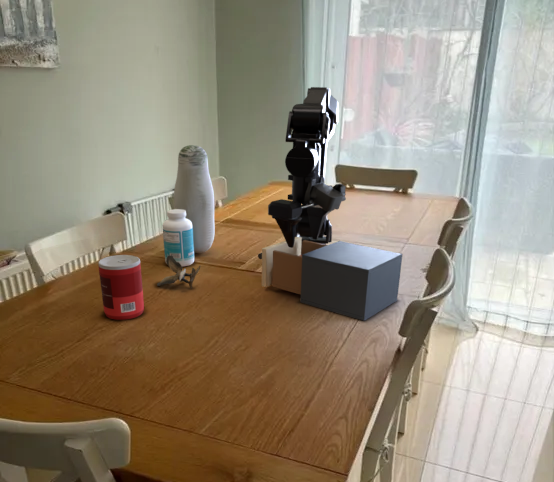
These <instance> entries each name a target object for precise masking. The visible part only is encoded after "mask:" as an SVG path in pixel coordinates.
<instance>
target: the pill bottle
mask: <svg viewBox="0 0 554 482" xmlns="http://www.w3.org/2000/svg"><path fill="white" fill-rule="evenodd" d="M166 216H167V218H166V219H165V220H164V221H163V222H162V227H161V228H162V238H163V239H162V240H163V251H164V262H165V264H166V265H168V264H167V262H166V260H167V259H166V258H167V257H168V256H170V255H172V256H173V258H174V259H175V261H176V262H179V263H180V264H181V266H182V267H189V266H191V265H193V264H194V262H195V253H194V245H193V228H192V222H191V221H190V220H188V219H186V218H185V217H186V210H182V209H175V208H174V209H169V210H167V211H166Z"/></svg>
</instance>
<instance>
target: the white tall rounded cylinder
mask: <svg viewBox="0 0 554 482" xmlns="http://www.w3.org/2000/svg"><path fill="white" fill-rule="evenodd" d="M177 156H178V157H177V173H176V179H175V183H174V188H173V189H174V190H173V201H174V202H173V203H174V204H173V205H174V209H182V210H186V217H185V218H186V219H188V220H190V221H191V222H192V228H193V245H194V254H203V253H206V252H208V251H209V250H210V249H211V247H212V245H213V243H214V240H215V230H216V229H215V225H216V224H215V192H214V187H213V183H212V178H211V175H210V170H209V169H210V168H209V159H208V158H209V157H208V154H207V152H206V150H205V149H204V148H203V147H201V146H199V145H193V144H190V145H186V146H183V147H182V148H181V149H180V150H179V152H178V155H177Z"/></svg>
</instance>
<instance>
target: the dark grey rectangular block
mask: <svg viewBox="0 0 554 482" xmlns="http://www.w3.org/2000/svg"><path fill="white" fill-rule="evenodd" d="M326 245H327V246H324V247H322V248H319V249H316V250H314V251H311V252H308V253H306V254H303V255H302V274H301V294H300V300H299V301H300V303H301V304H305V305H308V306H311V307H315V308H318V309H321V310H325V311H329V312H333V313H336V314H340V315H342V316H346V317H350V318H353V319H356V320H360V321H363V322H365V321H367V320H368V319H369V318H371V317H373V316H375V315H376V314H378V313H379V312H381V311H383V310H384V309H387V307H390V306H391V305H392V304H394V303H396V302H397V301H398V298H399V297H398V295H399V287H400V280H401V279H400V278H401V271H402V262H403V253H402V252H401V253H400V252H396V251H391V250H386V249H381V248H376V247H372V246H367V245H363V244H357V243H352V242H349V241H348V242H347V241H342V240H338V241H336V242H335V241H334V242H333V243H332V242H331V243H330V244H326Z"/></svg>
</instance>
